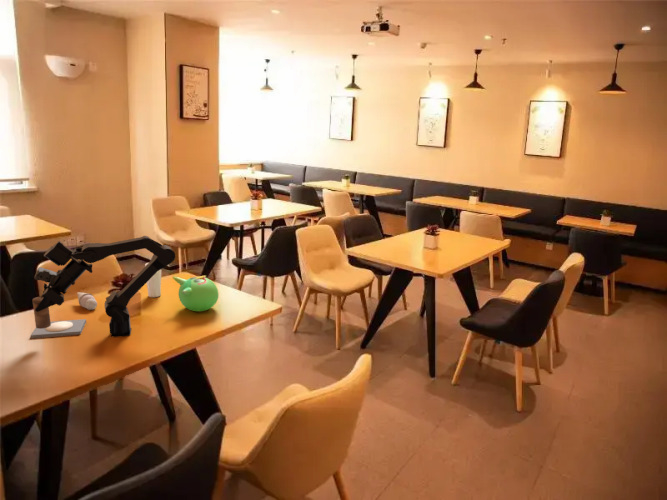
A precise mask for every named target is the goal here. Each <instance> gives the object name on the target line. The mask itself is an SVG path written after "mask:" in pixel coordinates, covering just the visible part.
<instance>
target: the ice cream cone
mask: <svg viewBox="0 0 667 500" xmlns="http://www.w3.org/2000/svg"><path fill="white" fill-rule="evenodd" d="M76 293H77V300H78V304H79V306H80V307H82V308H85V309H86V310H89V311H92V310H94V309H96V308H97V306H98V301H97V300H96V298H95V297H94V295H93V294H92V293H88V292H87V293H86V292H80V291H79V292H76Z"/></svg>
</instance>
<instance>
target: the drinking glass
mask: <svg viewBox="0 0 667 500" xmlns="http://www.w3.org/2000/svg"><path fill="white" fill-rule="evenodd" d="M148 263H149V262H146V263H145V264H144V267H145V266H146V265H147V264H148ZM161 285H162V269H161V270H159V271H157V272H156V273H155V274H154V275H153V276H152V277H151V278H150V279H149V281H148V282H147V283H146V287H147V295H148V297H149V298H158V297H160V296H161V295H162V293H161V290H162V289H161V287H162V286H161Z"/></svg>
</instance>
